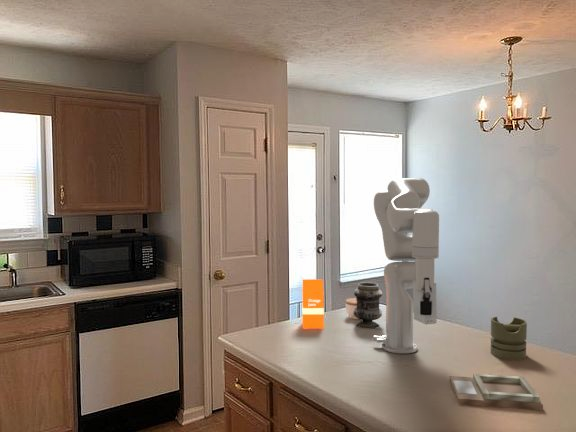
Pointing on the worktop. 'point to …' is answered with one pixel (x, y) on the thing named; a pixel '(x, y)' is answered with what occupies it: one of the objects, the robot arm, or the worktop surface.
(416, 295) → the skincare box
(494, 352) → the piston
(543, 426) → the worktop surface
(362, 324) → the dark stone vase
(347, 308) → the lidded jar
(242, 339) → the worktop surface
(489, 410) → the worktop surface
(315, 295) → the orange juice
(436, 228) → the robot arm
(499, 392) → the framed base plate
